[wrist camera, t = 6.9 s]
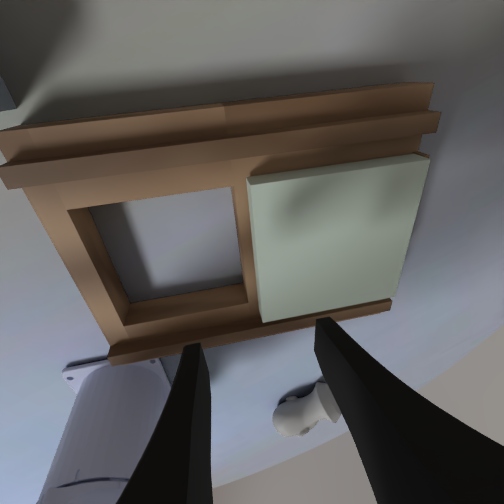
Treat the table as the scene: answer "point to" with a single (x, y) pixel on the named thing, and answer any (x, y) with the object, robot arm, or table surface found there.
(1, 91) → the block
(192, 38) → the table surface
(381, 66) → the table surface
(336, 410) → the pale two-lobed sculpture
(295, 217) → the lid
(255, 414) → the table surface
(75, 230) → the board
